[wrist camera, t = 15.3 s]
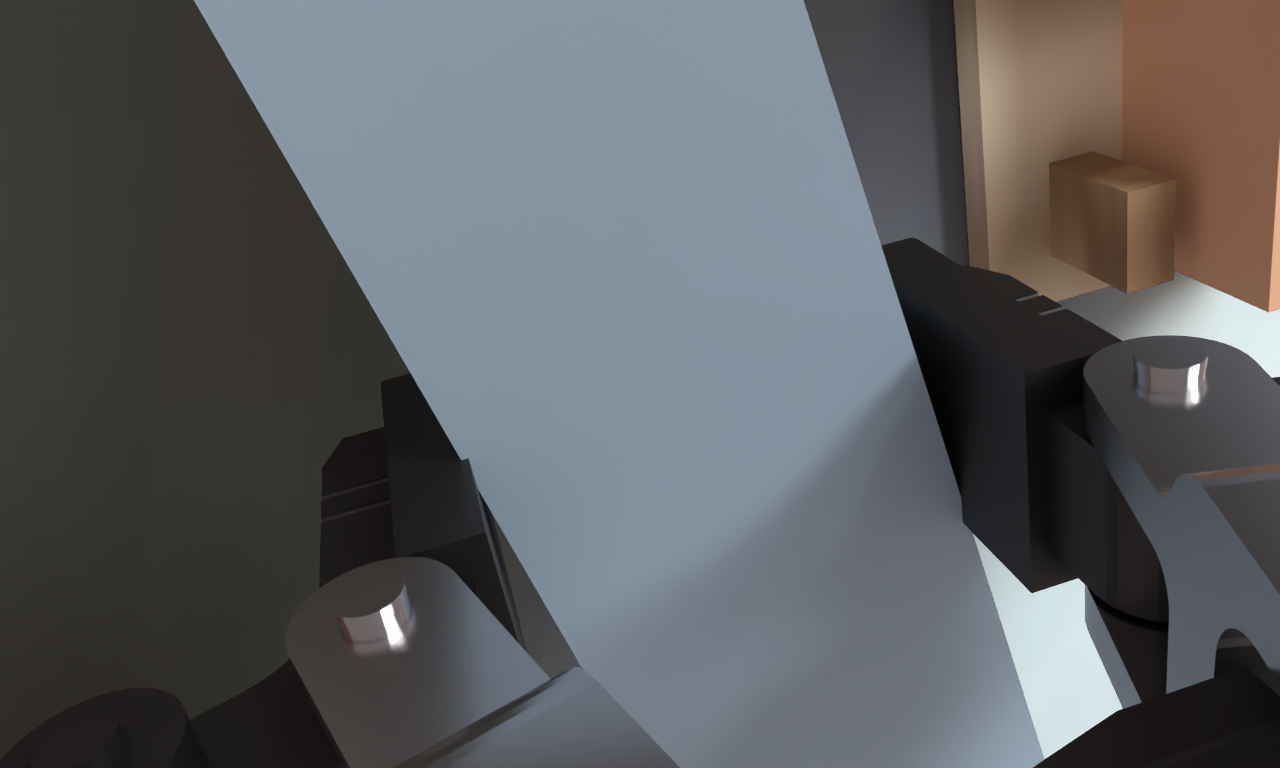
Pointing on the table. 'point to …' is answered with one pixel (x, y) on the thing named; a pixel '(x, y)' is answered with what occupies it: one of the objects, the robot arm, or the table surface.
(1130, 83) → the knobbed wooden block
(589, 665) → the light blue rectangular block
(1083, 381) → the robot arm
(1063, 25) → the jig
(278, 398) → the table surface
